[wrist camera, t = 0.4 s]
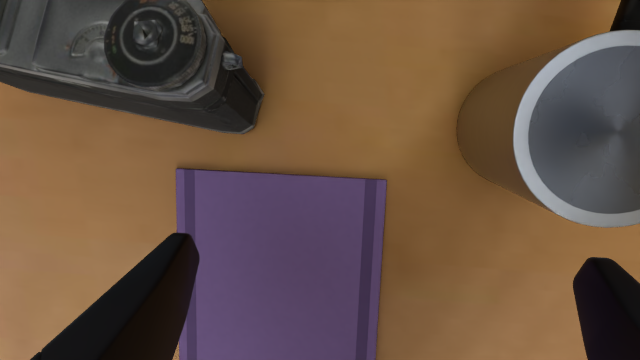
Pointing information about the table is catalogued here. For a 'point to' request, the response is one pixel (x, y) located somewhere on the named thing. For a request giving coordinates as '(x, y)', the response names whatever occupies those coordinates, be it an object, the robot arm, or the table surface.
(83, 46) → the camera
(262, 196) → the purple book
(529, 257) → the table surface
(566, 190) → the grey tall hollow container
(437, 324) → the table surface
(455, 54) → the table surface
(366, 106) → the table surface
